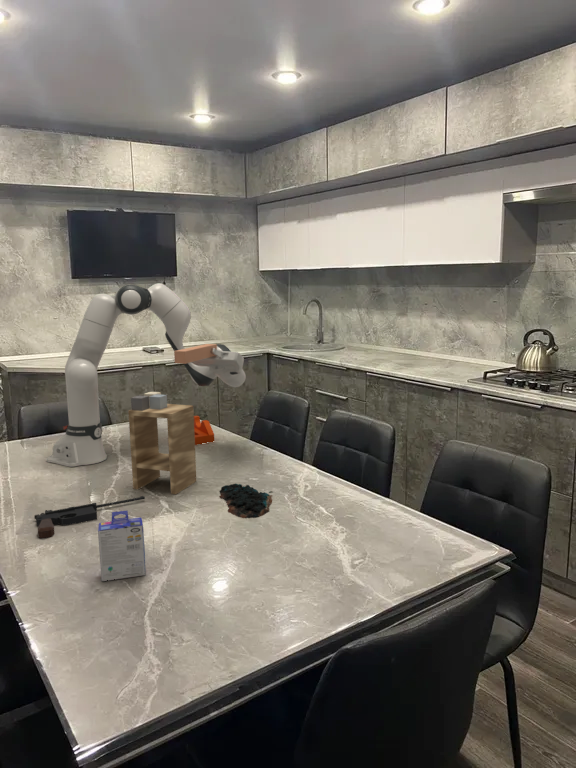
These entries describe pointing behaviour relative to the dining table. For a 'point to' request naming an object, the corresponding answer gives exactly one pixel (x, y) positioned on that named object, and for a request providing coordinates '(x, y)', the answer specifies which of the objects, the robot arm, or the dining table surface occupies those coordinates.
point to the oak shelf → (147, 447)
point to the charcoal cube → (140, 403)
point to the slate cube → (158, 401)
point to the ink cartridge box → (121, 547)
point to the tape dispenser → (202, 431)
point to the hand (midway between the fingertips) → (205, 349)
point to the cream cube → (151, 394)
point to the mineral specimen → (245, 501)
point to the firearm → (70, 516)
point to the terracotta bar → (194, 353)
